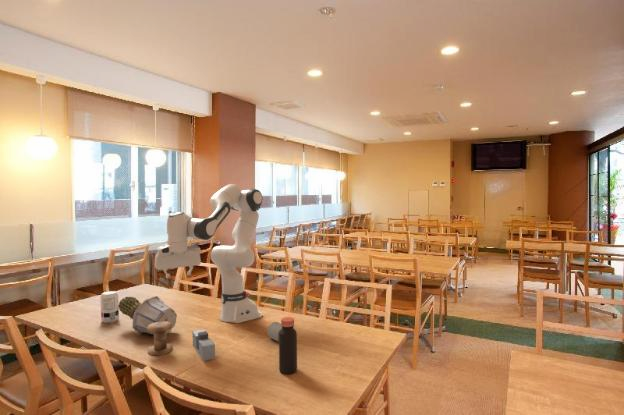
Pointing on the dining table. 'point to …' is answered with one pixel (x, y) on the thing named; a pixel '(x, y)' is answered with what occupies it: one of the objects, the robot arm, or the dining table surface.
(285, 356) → the bottle
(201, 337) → the dark gray rectangular block
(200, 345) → the gray stepped block
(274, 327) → the ceramic mug
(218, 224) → the robot arm
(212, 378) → the dining table surface
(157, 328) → the wooden door knob
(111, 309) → the supplement can
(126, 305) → the potted plant
